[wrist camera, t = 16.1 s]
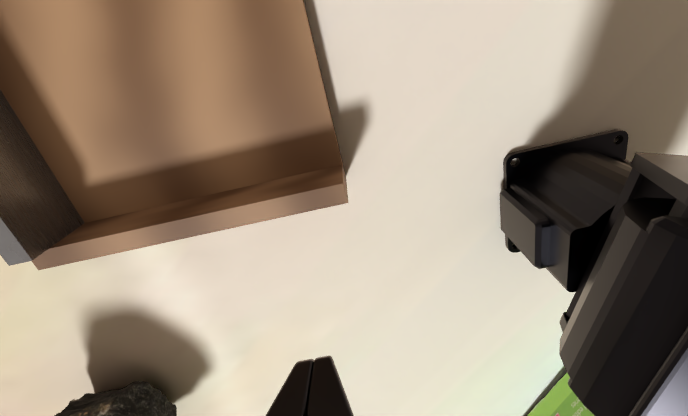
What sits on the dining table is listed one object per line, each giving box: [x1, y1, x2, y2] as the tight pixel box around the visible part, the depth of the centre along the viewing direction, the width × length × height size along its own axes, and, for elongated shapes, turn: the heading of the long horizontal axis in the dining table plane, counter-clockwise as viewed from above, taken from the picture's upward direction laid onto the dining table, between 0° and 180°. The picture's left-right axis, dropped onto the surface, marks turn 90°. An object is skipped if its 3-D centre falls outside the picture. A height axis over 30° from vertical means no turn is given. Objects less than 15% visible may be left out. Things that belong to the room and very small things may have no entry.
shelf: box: [0, 0, 348, 270], centre depth 16 cm, size 16×12×4 cm
